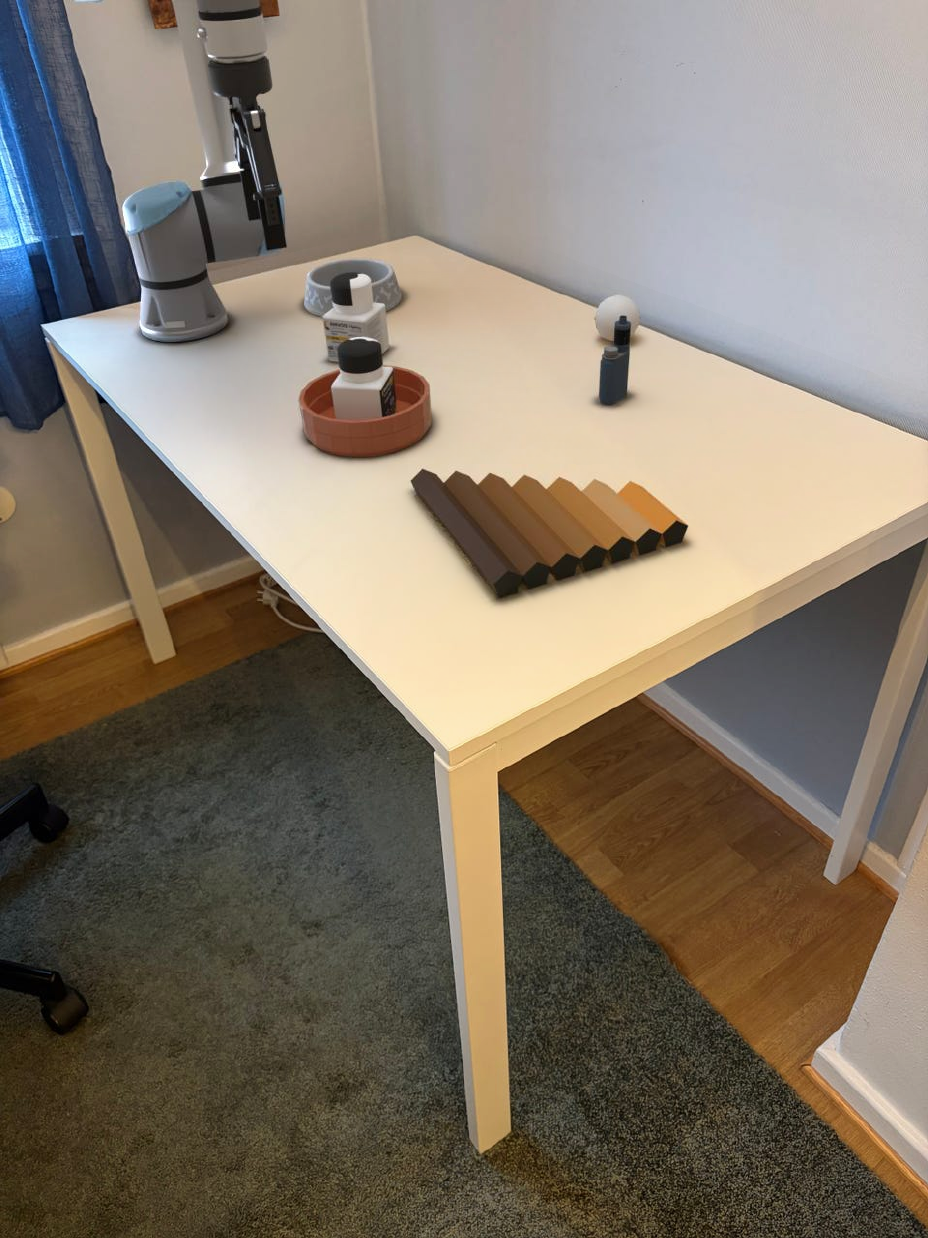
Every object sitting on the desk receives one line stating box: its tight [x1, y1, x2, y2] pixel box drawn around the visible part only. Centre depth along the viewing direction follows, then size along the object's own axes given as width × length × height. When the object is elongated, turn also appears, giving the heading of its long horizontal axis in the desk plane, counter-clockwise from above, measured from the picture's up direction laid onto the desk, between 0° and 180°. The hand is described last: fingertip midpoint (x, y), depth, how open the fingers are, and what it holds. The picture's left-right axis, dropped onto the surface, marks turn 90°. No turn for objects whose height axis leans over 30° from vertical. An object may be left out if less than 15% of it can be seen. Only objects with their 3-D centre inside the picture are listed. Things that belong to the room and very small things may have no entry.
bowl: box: [297, 364, 433, 458], centre depth 136 cm, size 18×18×6 cm
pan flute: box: [410, 468, 689, 599], centre depth 116 cm, size 25×3×25 cm
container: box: [322, 272, 390, 363], centre depth 155 cm, size 8×8×13 cm
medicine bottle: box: [331, 337, 397, 420], centre depth 134 cm, size 7×7×12 cm
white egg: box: [593, 294, 641, 342], centre depth 157 cm, size 10×7×7 cm
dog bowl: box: [303, 257, 403, 318], centre depth 177 cm, size 17×18×5 cm
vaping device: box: [598, 315, 631, 406], centre depth 138 cm, size 3×5×12 cm, turn 137°
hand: (266, 233), depth 131 cm, fingers open, 13 cm apart
